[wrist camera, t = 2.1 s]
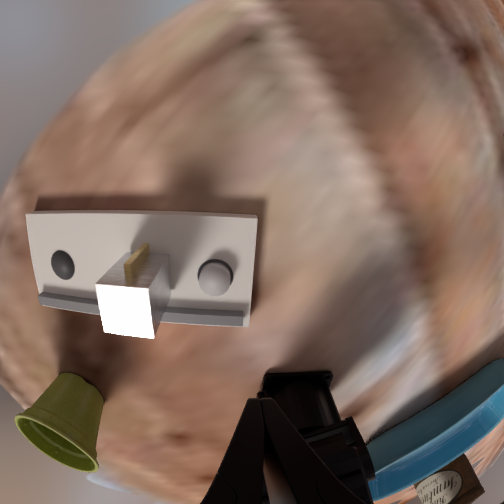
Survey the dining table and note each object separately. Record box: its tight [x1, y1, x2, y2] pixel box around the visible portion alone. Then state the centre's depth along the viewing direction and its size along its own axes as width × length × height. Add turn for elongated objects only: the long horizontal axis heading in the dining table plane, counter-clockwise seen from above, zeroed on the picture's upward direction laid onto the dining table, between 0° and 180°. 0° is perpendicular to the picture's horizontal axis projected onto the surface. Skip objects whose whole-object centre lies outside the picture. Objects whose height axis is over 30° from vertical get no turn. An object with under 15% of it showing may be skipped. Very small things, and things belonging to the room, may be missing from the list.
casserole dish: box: [366, 358, 504, 501], centre depth 28 cm, size 37×22×7 cm, turn 113°
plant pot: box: [15, 373, 104, 473], centre depth 19 cm, size 9×9×9 cm
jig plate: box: [26, 210, 258, 327], centre depth 18 cm, size 18×8×2 cm, turn 86°
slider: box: [95, 243, 171, 338], centre depth 15 cm, size 3×4×5 cm
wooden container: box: [414, 453, 485, 504], centre depth 30 cm, size 15×15×22 cm
